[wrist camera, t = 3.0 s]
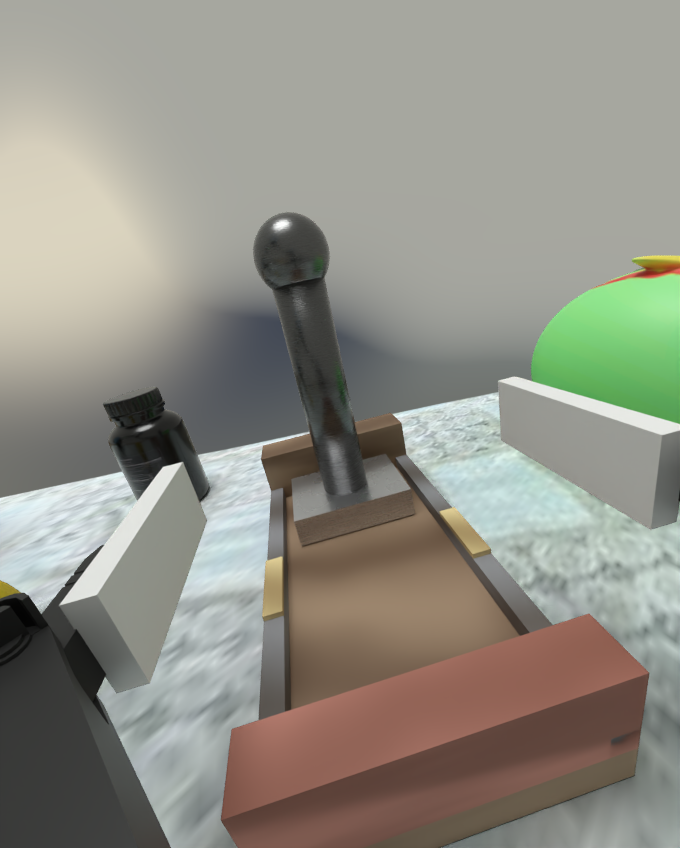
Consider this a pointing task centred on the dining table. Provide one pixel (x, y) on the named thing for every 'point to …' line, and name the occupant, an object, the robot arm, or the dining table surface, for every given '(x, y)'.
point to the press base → (396, 618)
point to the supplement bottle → (151, 440)
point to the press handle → (323, 391)
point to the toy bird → (619, 342)
